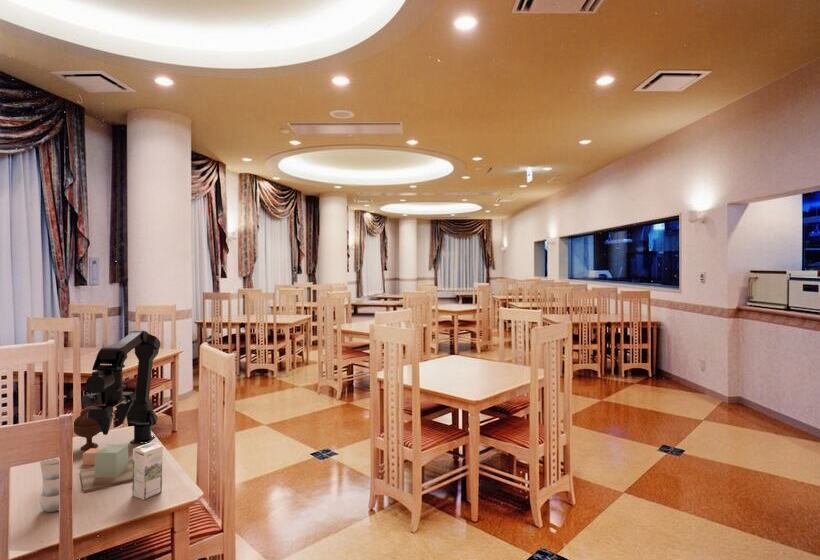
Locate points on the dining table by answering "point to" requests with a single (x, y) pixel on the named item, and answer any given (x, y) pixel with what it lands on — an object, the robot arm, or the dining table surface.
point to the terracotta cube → (90, 456)
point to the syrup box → (147, 470)
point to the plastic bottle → (50, 485)
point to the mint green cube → (111, 461)
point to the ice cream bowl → (86, 428)
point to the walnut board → (98, 483)
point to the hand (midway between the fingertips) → (113, 429)
